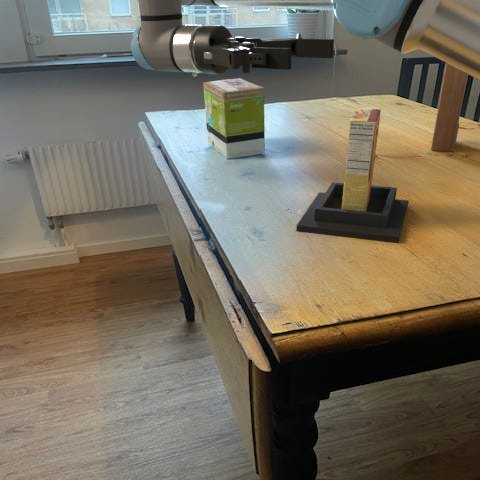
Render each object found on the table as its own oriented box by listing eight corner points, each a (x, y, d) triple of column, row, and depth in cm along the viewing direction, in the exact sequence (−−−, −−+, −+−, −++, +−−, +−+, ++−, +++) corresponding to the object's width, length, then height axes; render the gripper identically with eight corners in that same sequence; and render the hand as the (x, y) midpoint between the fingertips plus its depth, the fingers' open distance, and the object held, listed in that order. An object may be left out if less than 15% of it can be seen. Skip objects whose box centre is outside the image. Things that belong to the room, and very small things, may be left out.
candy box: (346, 198, 89) (354, 107, 81) (370, 200, 88) (381, 108, 80) (339, 217, 83) (348, 119, 74) (366, 219, 81) (377, 120, 73)
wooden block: (436, 140, 123) (451, 58, 113) (455, 142, 121) (472, 59, 111) (430, 150, 116) (445, 64, 106) (450, 152, 114) (468, 64, 104)
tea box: (206, 144, 127) (201, 80, 119) (243, 139, 130) (241, 77, 122) (226, 160, 115) (222, 90, 107) (266, 154, 118) (266, 86, 110)
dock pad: (407, 205, 89) (410, 188, 87) (398, 243, 76) (401, 224, 75) (319, 196, 94) (319, 181, 92) (296, 231, 81) (296, 213, 79)
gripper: (246, 64, 98) (345, 69, 88) (159, 84, 82) (268, 93, 71) (245, 20, 94) (349, 19, 84) (153, 31, 78) (268, 32, 67)
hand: (312, 53), depth 77 cm, fingers open, 13 cm apart
